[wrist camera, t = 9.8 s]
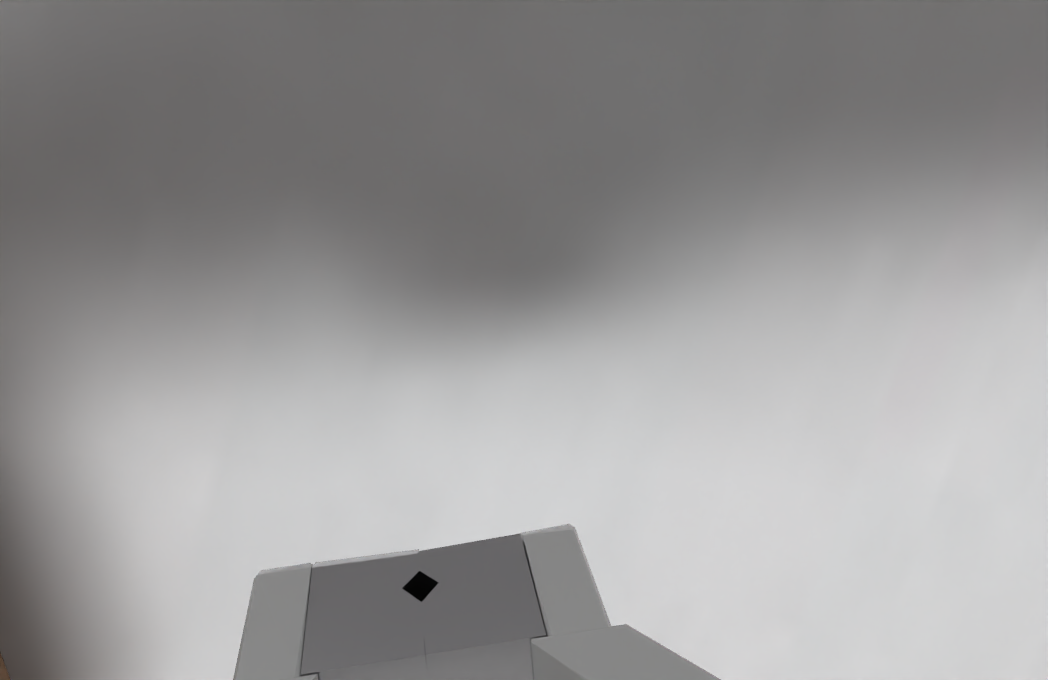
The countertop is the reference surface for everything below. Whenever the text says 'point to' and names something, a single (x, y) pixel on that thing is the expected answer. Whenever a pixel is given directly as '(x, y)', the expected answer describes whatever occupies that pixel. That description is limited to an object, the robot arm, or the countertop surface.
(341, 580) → the robot arm
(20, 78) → the countertop surface
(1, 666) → the block
